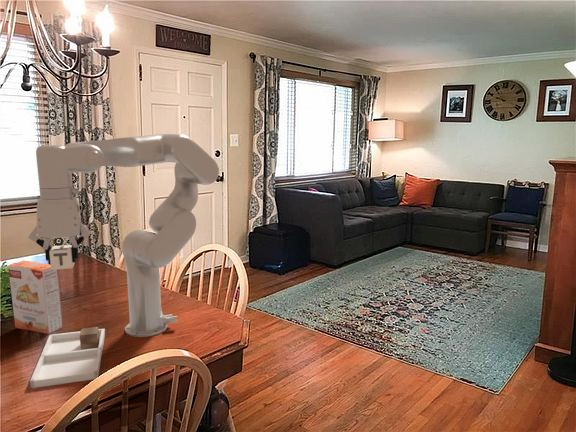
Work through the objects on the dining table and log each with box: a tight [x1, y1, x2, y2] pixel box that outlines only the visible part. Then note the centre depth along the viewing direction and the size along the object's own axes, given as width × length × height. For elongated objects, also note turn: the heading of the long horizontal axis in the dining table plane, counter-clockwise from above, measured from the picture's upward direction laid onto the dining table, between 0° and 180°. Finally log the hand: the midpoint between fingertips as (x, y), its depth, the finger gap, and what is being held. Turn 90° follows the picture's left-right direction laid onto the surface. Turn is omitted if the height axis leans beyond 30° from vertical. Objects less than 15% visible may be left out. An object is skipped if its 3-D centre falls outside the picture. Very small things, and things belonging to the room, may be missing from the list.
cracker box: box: [7, 260, 64, 335], centre depth 142 cm, size 14×6×21 cm, turn 69°
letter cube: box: [49, 244, 75, 271], centre depth 121 cm, size 5×5×5 cm
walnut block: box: [80, 326, 100, 350], centre depth 132 cm, size 4×4×4 cm
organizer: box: [29, 328, 106, 389], centre depth 125 cm, size 15×26×2 cm, turn 18°
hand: (62, 261), depth 122 cm, fingers closed on letter cube, 4 cm apart
